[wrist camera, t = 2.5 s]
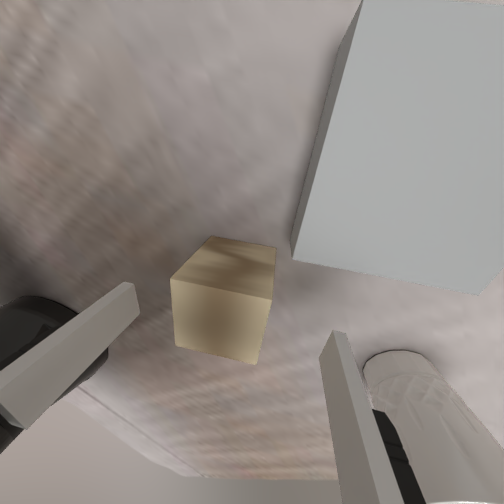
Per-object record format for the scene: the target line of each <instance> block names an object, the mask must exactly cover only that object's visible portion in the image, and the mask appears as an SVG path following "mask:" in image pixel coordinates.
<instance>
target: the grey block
mask: <svg viewBox="0 0 504 504" xmlns="http://www.w3.org/2000/svg"><path fill="white" fill-rule="evenodd" d="M290 245H291V255H292V260H297V261H302V262H307V263H312V264H317V265H322V266H328V267H333V268H338V269H343V270H348V271H354V272H359V273H364V274H369V275H374V276H379V277H385V278H390V279H395V280H400V281H405V282H410V283H416V284H421V285H426V286H431V287H436V288H441V289H447V290H452V291H457V292H462V293H467V294H473V295H479V294H480V293H481V292H482V291H483V290H484V289H485V288H486V287H487V285H488V284H489V283H490V282H491V281H492V280H493V279H494V278H495V277H496V276H497V274H498V273H499V272H500V271H501V270H502V269H503V268H504V5H496V4H485V3H473V2H462V1H451V0H362V1H361V3H360V5H359V7H358V9H357V11H356V13H355V15H354V18H353V20H352V22H351V24H350V26H349V28H348V30H347V32H346V34H345V36H344V38H343V40H342V42H341V44H340V46H339V50H338V54H337V58H336V62H335V66H334V69H333V73H332V77H331V81H330V85H329V89H328V93H327V97H326V101H325V105H324V109H323V112H322V116H321V120H320V124H319V128H318V132H317V136H316V140H315V144H314V148H313V152H312V155H311V159H310V163H309V167H308V171H307V175H306V179H305V183H304V187H303V191H302V195H301V199H300V202H299V206H298V210H297V214H296V218H295V222H294V226H293V230H292V234H291V238H290Z"/></svg>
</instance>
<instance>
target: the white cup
mask: <svg viewBox="0 0 504 504" xmlns="http://www.w3.org/2000/svg"><path fill="white" fill-rule="evenodd" d="M363 373H364V376H365V379H366V382H367V384H368V387H369V390H370V394H371V397H372V403H373V406H374V410H378V411H382V412H385V413H386V415H387V416H388V418H389V419H390V421H391V422H392V424H393V425H394V427H395V428H396V431H397V433H398V435H399V438H400V440H401V443H402V445H403V449H404V450H405V453H406V455H407V458H408V460H409V465H410V466H411V467H412V470H413V472H414V475H415V477H416V480H417V482H418V484H419V487H420V489H421V492H422V494H423V497H424V499H425V502H426V504H504V449H503V448H502V447H501V445H500V444H499V443H498V442H497V441H496V439H495V438H494V437H493V436H492V434H491V433H490V432H489V431H488V429H487V428H486V427H485V426H484V425H483V423H482V422H481V421H480V420H479V419H478V418H477V416H476V415H475V414H474V413H473V412H472V411H471V409H470V408H469V407H468V406H467V405H466V404H465V402H464V401H463V400H462V398H461V397H460V396H459V395H458V394H457V392H456V391H455V390H454V389H453V388H452V387H451V386H450V385H449V384H448V383H447V382H446V381H445V379H444V378H443V377H442V375H441V374H440V373H439V372H438V370H437V369H436V368H435V367H434V365H433V364H432V363H431V362H430V361H429V360H427V359H426V358H425V357H424V356H422V355H421V354H417V353H414V352H410V351H388V352H384V353H381V354H378V355H375V356H374V357H373V358H371V359H370V360H369V361H367V362H366V364H365V367H364V369H363Z"/></svg>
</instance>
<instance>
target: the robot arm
mask: <svg viewBox="0 0 504 504" xmlns="http://www.w3.org/2000/svg"><path fill="white" fill-rule="evenodd" d="M139 314H140V310H139V305H138V300H137V295H136V290H135V285H134V284H133V283H128V282H122V283H121V284H120V285H118V286H117V287H116V288H114V289H113V290H111V291H110V292H109V293H107V294H106V295H105V296H103V297H102V298H100V299H99V300H98V301H96V302H95V303H93V304H92V305H91V306H89V307H88V308H87V309H85V310H84V311H82V312H81V313H80V314H78V315H77V314H76V313H74V312H72V311H71V310H69V309H67V308H66V307H64V306H62V305H60V304H57V303H55V302H53V301H50V300H47V299H43V298H39V297H32V296H26V297H20V298H18V299H16V300H14V301H12V302H10V303H8V304H6V305H4V306H2V307H0V454H1V453H2V452H3V451H4V450H5V449H6V447H7V446H9V444H10V443H11V442H12V441H13V440H14V439H15V438H16V437H17V436H18V435H19V434H20V433H21V432H22V431H23V430H24V429H26V430H27V429H28V428H29V427H30V426H31V425H32V424H33V423H34V422H35V421H36V420H37V419H38V418H39V417H40V416H41V415H42V414H43V413H44V412H45V411H46V410H47V409H48V408H49V407H50V406H51V405H53V404H54V403H55V402H57V401H58V400H60V399H61V398H62V397H64V396H65V395H66V394H68V393H69V392H71V391H72V390H73V389H74V388H76V387H77V386H78V385H80V384H81V383H82V382H84V381H86V380H88V379H89V378H90V377H91V376H93V375H94V374H95V373H96V371H97V370H98V369H99V368H100V367H101V366H102V365H103V364H104V363H105V361H106V359H107V347H108V346H109V345H110V344H111V343H112V342H113V341H114V340H115V339H116V338H117V337H118V336H119V335H120V334H121V333H122V332H123V331H124V330H125V329H126V328H127V327H128V326H129V325H130V324H131V323H132V321H133V320H134V319H135V318H136V317H137V316H138V315H139ZM319 361H320V367H321V374H322V380H323V386H324V392H325V398H326V404H327V410H328V417H329V423H330V429H331V435H332V441H333V447H334V453H335V460H336V466H337V472H338V478H339V484H340V490H341V496H342V502H343V504H426V502H425V499H424V497H423V494H422V492H421V489H420V487H419V484H418V482H417V480H416V477H415V475H414V472H413V470H412V467H411V466H410V465H409V460H408V458H407V455H406V453H405V450H404V449H403V445H402V443H401V440H400V438H399V435H398V433H397V431H396V428H395V427H394V425H393V424H392V422H391V421H390V419H389V418H388V416H387V415H386V413H385V412H382V411H378V410H374V409H372V408H371V405H370V402H369V400H368V397H367V394H366V391H365V388H364V385H363V382H362V379H361V376H360V373H359V370H358V368H357V365H356V362H355V359H354V356H353V353H352V350H351V347H350V344H349V341H348V338H347V336H346V333H342V332H338V331H334V330H333V331H332V333H331V335H330V337H329V339H328V341H327V343H326V345H325V347H324V349H323V351H322V353H321V355H320V357H319Z"/></svg>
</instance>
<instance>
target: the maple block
mask: <svg viewBox="0 0 504 504" xmlns="http://www.w3.org/2000/svg"><path fill="white" fill-rule="evenodd" d="M275 258H276V248H273V247H268V246H263V245H257V244H252V243H247V242H242V241H236V240H231V239H226V238H221V237H215V236H211V237H210V238H209V239H208V240H207V241H206V242H205V243H204V244H203V245H202V246H201V247H200V248H199V249H198V250H197V251H196V252H195V253H194V254H193V255H192V256H191V257H190V258H189V259H188V260H187V261H186V262H185V263H184V265H183V266H182V267H181V268H180V269H179V270H178V271H177V272H176V273H175V274H174V275H173V276H172V277H171V278H170V287H171V299H172V311H173V322H174V334H175V346H179V347H183V348H187V349H191V350H196V351H200V352H204V353H208V354H212V355H217V356H221V357H225V358H229V359H233V360H237V361H242V362H246V363H250V364H254V365H256V364H257V360H258V356H259V352H260V348H261V344H262V340H263V336H264V332H265V328H266V324H267V320H268V316H269V312H270V308H271V303H272V298H273V285H274V271H275Z"/></svg>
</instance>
